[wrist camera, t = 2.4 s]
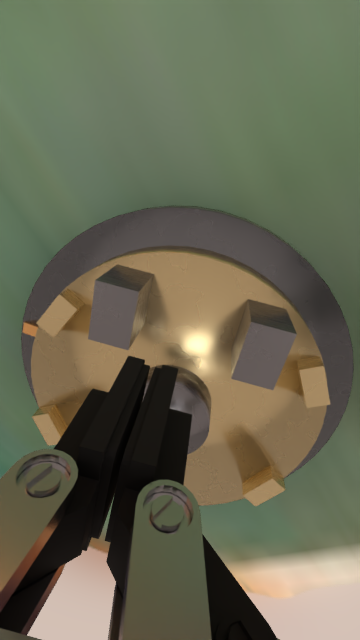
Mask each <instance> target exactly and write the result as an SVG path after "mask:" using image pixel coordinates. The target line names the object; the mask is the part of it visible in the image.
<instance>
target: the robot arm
mask: <svg viewBox="0 0 360 640" xmlns="http://www.w3.org/2000/svg"><path fill="white" fill-rule="evenodd" d="M178 369H179V368H175V367H171V366H167V365H162V368H157V367H155V369H154V371H153V374H152V377H151V380H150V382H149V385H148V388H147V391H146V393H145V396H144V392H145V388H146V383H147V379H148V374H149V370H150V366H149V365H146V364H145V360H144V359H140V358H136V357H133V356H128V357H127V359H126V361H125V363H124V365H123V367H122V368H121V370H120V372H119V374H118V376H117V378H116V379H115V381H114V383H113V385H112V387H111V389H110V391H109V392H105V391H101V390H98V389H94V388H93V389H92V390H91V391H90V392H89V394H88V396H87V397H86V399H85V400H84V402H83V404H82V405H81V407H80V408H79V410H78V411H77V413H76V415H75V416H74V418H73V419H72V421H71V423H70V424H69V426H68V427H67V429H66V430H65V432H64V434H63V435H62V437H61V438H60V440H59V442H58V443H57V445H56V446H55V448H54V449H42V450H38V451H34V452H31V453H29V454H27V455H25V456H23V457H22V458H21V459H20V460H18V461H17V462H16V463H15V464H14V465H13V466H12V467H11V468H10V469H9V470H8V471H7V472H6V473H5V474H4V475H3V476H2V477H1V478H0V640H41V639H37V638H33V637H30V636H27V634H28V632H29V631H30V629H31V627H32V625H33V623H34V622H35V620H36V618H37V616H38V615H39V613H40V611H41V609H42V607H43V606H44V604H45V602H46V600H47V599H48V597H49V595H50V593H51V591H52V590H53V588H54V586H55V584H56V583H57V581H58V579H59V577H60V575H61V574H62V571H63V569H64V566H65V564H66V563H67V562H69V561H70V560H72V559H74V558H76V557H78V556H79V555H81V553H82V550H85V551H87V548H88V545H89V543H90V540H91V537H93V538H97V539H99V537H100V535H101V532H102V529H103V526H104V523H105V520H106V517H107V514H108V511H109V509H110V506H111V503H112V500H113V497H114V500H113V504H112V509H111V514H110V519H109V524H108V528H107V533H106V538H105V541H108V542H111V543H110V548H109V552H108V557H107V564H108V566H109V568H110V570H111V572H112V574H113V576H114V578H115V581H116V585H115V590H114V598H113V606H112V612H111V620H110V628H109V635H108V640H280V639H278V638H276V636H275V634H274V633H273V631H272V629H271V627H270V626H269V624H268V623H267V621H266V620H265V619H264V617H263V616H262V615H261V613H260V612H259V611H258V609H257V608H256V606H255V605H254V604H253V602H252V601H251V600H250V598H249V597H248V596H247V594H246V593H245V591H244V590H243V589H242V587H241V586H240V585H239V583H238V582H237V581H236V579H235V578H234V576H233V575H232V574H231V572H230V571H229V570H228V568H227V567H226V566H225V564H224V563H223V562H222V560H221V559H220V557H219V556H218V555H217V553H216V552H215V551H214V549H213V548H212V547H211V545H210V544H209V542H208V541H207V540H206V538H205V537H204V536H203V534H202V526H201V515H200V509H199V505H198V502H197V500H196V498H195V497H194V495H193V494H192V493H191V492H190V491H189V490H188V489H187V488H186V487H185V486H184V478H185V470H186V462H187V454H188V446H189V438H190V430H191V422H192V414H189V413H185V412H181V411H177V410H174V409H170V404H171V399H172V395H173V391H174V387H175V382H176V378H177V374H178ZM143 397H144V399H143ZM142 401H143V402H142ZM114 494H115V495H114Z"/></svg>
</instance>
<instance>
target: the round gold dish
mask: <svg viewBox="0 0 360 640" xmlns="http://www.w3.org/2000/svg"><path fill="white" fill-rule="evenodd" d="M36 324H38V325H39V327H38V329H37V332H36V335H35V339H34V343H33V347H32V356H31V377H32V383H33V389H34V393H35V396H36V400H37V403H38V406H39V409H38V410H37V411H36V412H35V414H34V415H33V416H32V418H33V419H34V421H35V423H36V425H37V427H38V428H39V430H40V432H41V434H42V436H43V437H44V439H45V441H46V443H47V445H48V446H49V445H56V444H57V443H58V442H59V440H60V438H61V437H62V435H63V434H64V432H65V430H66V429H67V427H68V426H69V424H70V423H71V421H72V419H73V418H74V416H75V415H76V413H77V411H78V410H79V408H80V407H81V405H82V404H83V402H84V400H85V399H86V397H87V396H88V394H89V392H90V391H91V390H92V389H93V388H94V389H98V390H101V391H105V392H109V391H110V389H111V387H112V385H113V383H114V381H115V379H116V378H117V376H118V374H119V372H120V370H121V368H122V367H123V365H124V363H125V361H126V359H127V357H128V356H133V357H136V358H140V359H144V360H145V364H146V365H149V366H150V370H149V374H148V379H147V383H146V388H145V392H144V396H145V393H146V391H147V388H148V385H149V382H150V380H151V377H152V374H153V371H154V369H155V367H157V368H162V365H167V366H171V367H175V368H179V369H178V374H177V378H176V382H175V387H174V391H173V395H172V399H171V404H170V409H174V410H177V411H181V412H185V413H189V414H192V422H191V430H190V438H189V446H188V454H187V462H186V470H185V478H184V486H185V487H186V488H187V489H188V490H189V491H190V492H191V493H192V494H193V495H194V497H195V498H196V500H197V502H198V505H214V504H222V503H227V502H232V501H236V500H240V499H243V498H246V499H247V500H249V501H250V502H251V503H252V504H253V505H255V506H258V505H259V504H261V503H263V502H265V501H267V500H268V499H270V498H272V497H274V496H276V495H277V494H279V493H281V492H283V491H285V484H284V478H285V477H286V476H287V475H288V474H289V473H290V472H292V471H293V470H294V469H295V468H296V467H297V466H298V465H299V464H300V463H301V462H302V460H303V459H304V458H305V457H306V456H307V454H308V453H309V451H310V450H311V448H312V447H313V445H314V443H315V442H316V440H317V437H318V435H319V433H320V431H321V428H322V426H323V422H324V418H325V414H326V409H327V405H330V399H329V393H328V387H327V377H326V371H325V367H324V364H323V360H322V356H321V354H320V351H319V349H318V347H317V344H316V342H315V340H314V338H313V336H312V334H311V332H310V330H309V328H308V326H307V324H306V322H305V321H304V319H303V317H302V316H301V314H300V313H299V311H298V309H297V308H296V306H295V305H294V304H293V303H292V302H291V301H290V299H289V298H288V297H287V296H286V295H285V294H284V292H283V291H282V290H280V289H279V288H278V287H277V286H276V285H275V284H274V283H273V282H271V281H270V280H269V279H268V278H267V277H265V276H264V275H262V274H261V273H259V272H258V271H256V270H255V269H253V268H252V267H250V266H248V265H246V264H244V263H242V262H240V261H238V260H236V259H233V258H231V257H229V256H226V255H223V254H220V253H217V252H213V251H210V250H205V249H200V248H195V247H188V246H170V245H168V246H155V247H146V248H142V249H137V250H133V251H129V252H126V253H123V254H121V255H118V256H115V257H113V258H110V259H109V260H107V261H105V262H103V263H101V264H100V265H98V266H96V267H94V268H93V269H91V270H89V271H88V272H86V273H85V274H83V275H81V276H80V277H79V278H77V279H76V280H75V281H74V282H72V283H71V284H70V285H68V286H67V287H66V288H65V289H64V290H63V291H62V292H61V293H60V294H59V295H58V296H57V297H56V298H55V300H54V301H53V302H52V304H51V305H50V306H49V308H48V309H47V310H46V311H45V313H44V314H43V315H42V316H41V318H40V319H39V320H38V321H37V323H36ZM143 399H144V397H143ZM142 402H143V401H142Z"/></svg>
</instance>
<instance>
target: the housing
mask: <svg viewBox="0 0 360 640" xmlns="http://www.w3.org/2000/svg"><path fill="white" fill-rule="evenodd" d="M168 245H170V246H188V247H195V248H200V249H205V250H210V251H213V252H217V253H220V254H223V255H226V256H229V257H231V258H233V259H236V260H238V261H240V262H242V263H244V264H246V265H248V266H250V267H252V268H253V269H255V270H256V271H258V272H259V273H261V274H262V275H264V276H265V277H267V278H268V279H269V280H270V281H271V282H273V283H274V284H275V285H276V286H277V287H278V288H279V289H280V290H282V291H283V292H284V294H285V295H286V296H287V297H288V298H289V299H290V301H291V302H292V303H293V304H294V305H295V306H296V308H297V309H298V311H299V313H300V314H301V316H302V317H303V319H304V321H305V322H306V324H307V326H308V328H309V330H310V332H311V334H312V336H313V338H314V340H315V342H316V344H317V347H318V349H319V351H320V354H321V356H322V360H323V364H324V367H325V371H326V377H327V387H328V393H329V399H330V405H327V409H326V414H325V418H324V422H323V426H322V428H321V431H320V433H319V435H318V437H317V440H316V442H315V443H314V445H313V447H312V448H311V450H310V451H309V453H308V454H307V456H306V457H305V458H304V459H303V460H302V462H301V463H300V464H299V465H298V466H297V467H296V468H295V469H294V470H293V471H292V472H290V473H289V474H288V475H287V476H289V475H290V474H292V473H293V472H295V471H296V470H298V469H299V468H301V467H302V466H303V465H304V464H306V463H307V462H308V461H309V460H310V459H311V458H313V457H314V456H315V455H316V454H317V453H318V452H319V450H320V449H321V448H322V447H323V446H324V445H325V444H326V443H327V441H328V440H329V438H330V437H331V435H332V434H333V432H334V431H335V429H336V428H337V426H338V424H339V422H340V420H341V418H342V416H343V414H344V411H345V409H346V406H347V403H348V399H349V396H350V392H351V387H352V378H353V350H352V344H351V340H350V335H349V331H348V326H347V324H346V321H345V319H344V316H343V314H342V311H341V309H340V306H339V304H338V303H337V301H336V299H335V297H334V296H333V294H332V292H331V291H330V289H329V287H328V286H327V284H326V283H325V282H324V281H323V279H322V278H321V277H320V276H319V274H318V273H317V272H316V271H315V270H314V268H313V267H312V266H311V265H310V264H309V263H308V262H307V260H306V259H304V258H303V257H302V256H301V255H300V254H299V253H298V252H297V251H296V250H295V249H293V248H292V247H291V246H290V245H289V244H288V243H286V242H285V241H284V240H282V239H281V238H279V237H278V236H276V235H275V234H273V233H272V232H270V231H269V230H267V229H265V228H263V227H261V226H259V225H257V224H255V223H253V222H251V221H249V220H247V219H244V218H241V217H238V216H235V215H232V214H229V213H226V212H223V211H219V210H213V209H208V208H202V207H196V206H163V207H153V208H146V209H142V210H138V211H134V212H130V213H126V214H123V215H119V216H117V217H114V218H112V219H109V220H107V221H104V222H102V223H100V224H97V225H95V226H93V227H92V228H90V229H88V230H87V231H85V232H83V233H82V234H80V235H78V236H77V237H75V238H74V239H73V240H72V241H71V242H69V243H68V244H67V245H66V246H65V247H63V248H62V249H61V250H60V251H59V252H58V253H57V254H56V255H55V256H54V258H53V259H52V260H51V261H50V262H49V263H48V265H47V266H46V267H45V269H44V270H43V272H42V273H41V275H40V277H39V278H38V280H37V281H36V283H35V285H34V287H33V290H32V292H31V295H30V297H29V299H28V302H27V306H26V310H25V314H24V318H23V326H22V336H21V340H22V357H23V362H24V368H25V373H26V376H27V379H28V382H29V385H30V388H31V391H32V393H33V395H34V397H35V400H36V396H35V393H34V389H33V383H32V377H31V356H32V347H33V343H34V339H35V335H36V332H37V329H38V327H39V325H38V324H36V323H37V321H38V320H39V319H40V318H41V316H42V315H43V314H44V313H45V311H46V310H47V309H48V308H49V306H50V305H51V304H52V302H53V301H54V300H55V298H56V297H57V296H58V295H59V294H60V293H61V292H62V291H63V290H64V289H65V288H66V287H67V286H68V285H70V284H71V283H72V282H74V281H75V280H76V279H77V278H79V277H80V276H81V275H83V274H85V273H86V272H88V271H89V270H91V269H93V268H94V267H96V266H98V265H100V264H101V263H103V262H105V261H107V260H109V259H110V258H113V257H115V256H118V255H121V254H123V253H126V252H129V251H133V250H137V249H142V248H146V247H155V246H168ZM36 402H37V400H36ZM37 404H38V403H37ZM287 476H286V477H287Z"/></svg>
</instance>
